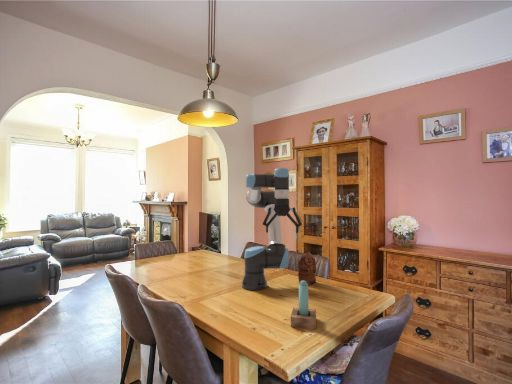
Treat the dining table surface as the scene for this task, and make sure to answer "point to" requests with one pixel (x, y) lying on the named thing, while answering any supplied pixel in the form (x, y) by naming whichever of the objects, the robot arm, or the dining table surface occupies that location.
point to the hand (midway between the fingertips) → (282, 239)
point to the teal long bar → (303, 298)
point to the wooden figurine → (307, 269)
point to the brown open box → (303, 319)
